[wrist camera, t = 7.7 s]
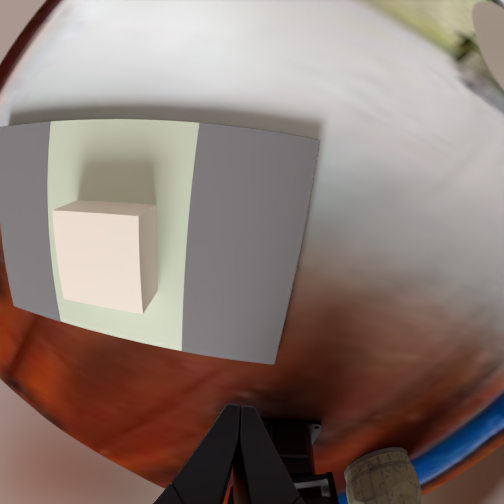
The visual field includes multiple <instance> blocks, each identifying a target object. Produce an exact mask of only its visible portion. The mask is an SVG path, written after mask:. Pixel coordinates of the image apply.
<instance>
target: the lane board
mask: <svg viewBox="0 0 504 504" xmlns="http://www.w3.org/2000/svg"><path fill="white" fill-rule="evenodd" d="M198 129H199V123H196V122H183V121H167V120H141V119H90V120H66V121H51V123H50V134H49V149H48V173H47V202H48V227H49V241H50V252H51V262H52V271H53V278H54V285H55V292H56V298H57V304H58V310H59V315H60V320H61V321H62V322H65V323H68V324H71V325H75V326H78V327H82V328H85V329H89V330H93V331H96V332H100V333H104V334H108V335H112V336H116V337H120V338H124V339H128V340H132V341H137V342H141V343H146V344H150V345H155V346H160V347H165V348H170V349H175V350H180V351H182V320H183V295H184V276H185V260H186V245H187V232H188V220H189V209H190V198H191V188H192V179H193V170H194V161H195V153H196V145H197V137H198ZM76 200H86V201H105V202H123V203H139V204H154V205H157V207H156V261H157V293H156V295H155V296H154V298H153V299H152V301H151V302H150V304H149V305H148V307H147V309H146V310H145V312H144V313H143V314H139V313H133V312H128V311H122V310H116V309H111V308H105V307H100V306H95V305H90V304H85V303H80V302H76V301H71V300H66V299H64V298H63V293H62V287H61V282H60V276H59V269H58V262H57V255H56V246H55V237H54V227H53V214H52V210H54V209H57V208H59V207H61V206H64V205H66V204H69V203H71V202H74V201H76Z"/></svg>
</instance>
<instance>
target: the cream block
mask: <svg viewBox="0 0 504 504" xmlns="http://www.w3.org/2000/svg"><path fill="white" fill-rule="evenodd" d="M156 207H157V205H154V204H139V203H123V202H105V201H86V200H76V201H74V202H71V203H69V204H66V205H64V206H61V207H59V208H57V209H54V210H52V214H53V227H54V237H55V246H56V255H57V262H58V269H59V276H60V282H61V287H62V293H63V298H64V299H66V300H71V301H76V302H80V303H85V304H90V305H95V306H100V307H105V308H111V309H116V310H122V311H128V312H133V313H139V314H143V313H144V312H145V310H146V309H147V307H148V305H149V304H150V302H151V301H152V299H153V298H154V296H155V295H156V293H157V261H156Z"/></svg>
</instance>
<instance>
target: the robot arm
mask: <svg viewBox="0 0 504 504" xmlns="http://www.w3.org/2000/svg"><path fill="white" fill-rule="evenodd" d="M321 428H322V424H321V422H317V421H292V420H277V419H265V418H260V416H259V414H258V412H257V410H256V408H255V407H253V406H241V407H240V405H236V404H226V405H225V407H224V408H223V410H222V411H221V413H220V414H219V416H218V417H217V419H216V420H215V422H214V423H213V424H212V426H211V427H210V429H209V430H208V432H207V433H206V435H205V436H204V437H203V439H202V440H201V442H200V443H199V444H198V446H197V447H196V449H195V450H194V451H193V453H192V454H191V456H190V457H189V458H188V460H187V461H186V462H185V464H184V465H183V467H182V468H181V469H180V471H179V472H178V473H177V475H176V476H175V477H174V479H173V480H172V481H171V484H169V485H168V486H167V488H166V489H165V490H164V492H163V493H162V494H161V495H160V496H159V498H158V499H157V500H156V501H155V502H154V503H153V504H223V501H224V498H225V494H226V490H227V487H228V483H229V479H230V476H231V471H232V467H233V486H232V487H231V490H230V494H229V498H228V503H227V504H339V502H338V497H337V493H336V488H335V483H334V479H333V474H332V472H327V473H326V474H320V475H316V473H315V465H314V457H313V449H312V445H313V443H314V441H315V439H316V438H317V436H318V434H319V432H320V430H321Z"/></svg>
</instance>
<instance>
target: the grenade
mask: <svg viewBox="0 0 504 504" xmlns="http://www.w3.org/2000/svg"><path fill="white" fill-rule="evenodd" d="M344 476H345V479H346V483H347V487H346V494H347V500H348V504H421V502H420V501H421V487H420V484H419V481H418V478H417V475H416V472H415V469H414V466H413V465H412V464H411V463H410V461H409V457H408V453H407V450H405V449H404V448H400V447H390V448H384V449H380V450H376V451H373V452H371V453H368V454H366V455H364V456H362V457H360V458H358V459H356V460H355V461H353V462H352V463H351V464H349V465H348V466H347V468H346V469H345V472H344Z"/></svg>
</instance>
